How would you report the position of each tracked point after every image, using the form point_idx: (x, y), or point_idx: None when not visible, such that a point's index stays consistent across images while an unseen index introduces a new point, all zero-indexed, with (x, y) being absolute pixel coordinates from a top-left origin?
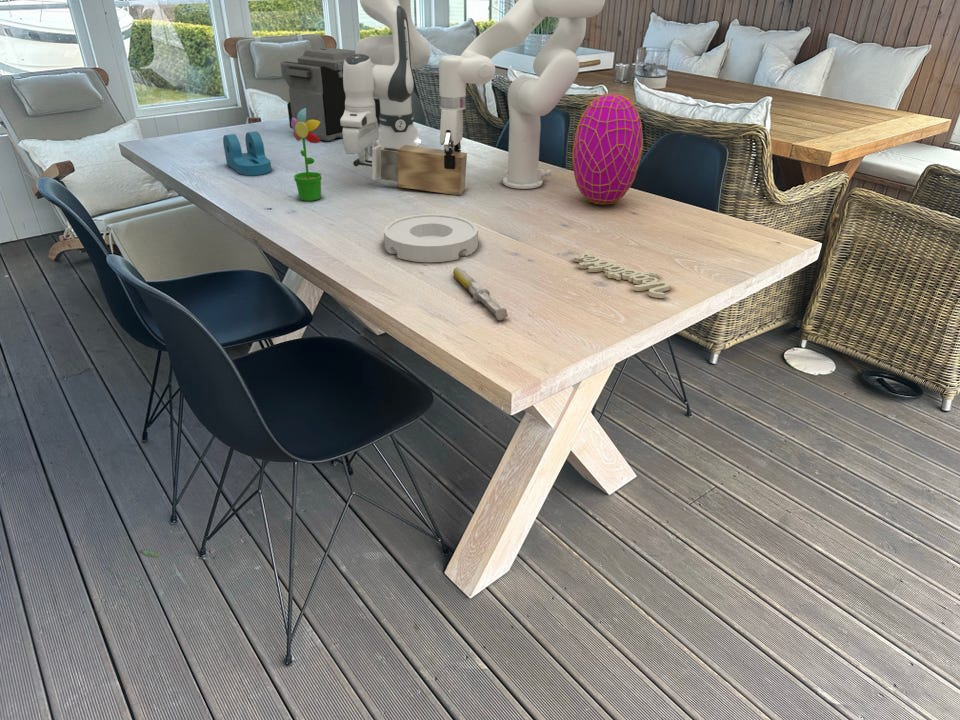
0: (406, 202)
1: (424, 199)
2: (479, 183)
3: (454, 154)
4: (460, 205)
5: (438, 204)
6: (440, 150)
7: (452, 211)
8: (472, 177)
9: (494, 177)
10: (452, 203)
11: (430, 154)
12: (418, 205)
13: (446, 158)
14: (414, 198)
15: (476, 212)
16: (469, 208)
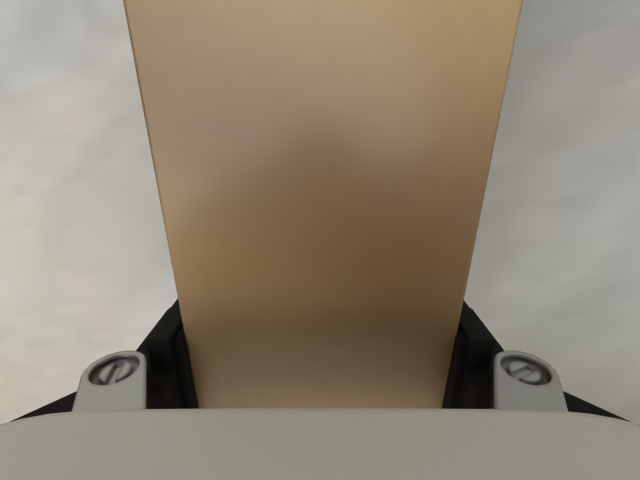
0: (32, 13)
1: (135, 113)
2: (495, 327)
3: (302, 402)
4: (120, 315)
5: (87, 213)
6: (416, 225)
7: (21, 300)
8: (611, 275)
9: (608, 372)
10: (133, 275)
11: (152, 136)
12: (18, 110)
13: (139, 350)
14: (128, 42)
15: (61, 390)
16: (97, 357)
